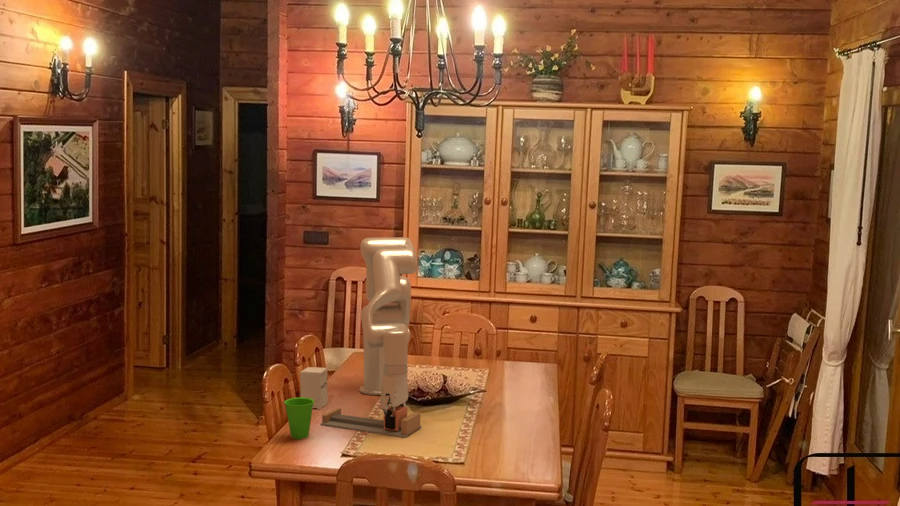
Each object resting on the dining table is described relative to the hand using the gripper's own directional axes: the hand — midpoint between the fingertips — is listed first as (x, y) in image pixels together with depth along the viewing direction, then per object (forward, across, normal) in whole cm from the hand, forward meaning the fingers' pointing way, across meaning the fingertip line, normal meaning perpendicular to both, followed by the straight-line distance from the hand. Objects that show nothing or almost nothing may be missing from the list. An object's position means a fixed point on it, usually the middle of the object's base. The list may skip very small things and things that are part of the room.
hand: (395, 424), depth 282 cm
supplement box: (+2, -12, -37) cm, 39 cm away
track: (+2, 0, -9) cm, 9 cm away
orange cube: (+2, 0, 0) cm, 2 cm away
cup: (+2, +18, -23) cm, 29 cm away
